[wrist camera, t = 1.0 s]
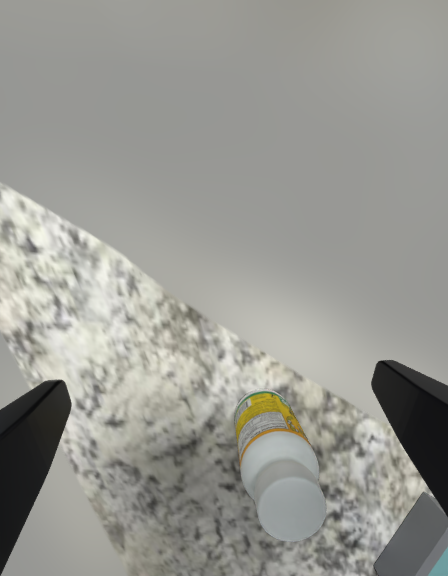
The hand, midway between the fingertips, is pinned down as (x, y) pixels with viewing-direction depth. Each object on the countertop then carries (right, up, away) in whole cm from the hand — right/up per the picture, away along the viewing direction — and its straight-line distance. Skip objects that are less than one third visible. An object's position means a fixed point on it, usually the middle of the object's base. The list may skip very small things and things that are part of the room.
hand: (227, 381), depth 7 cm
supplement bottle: (+4, -9, +17) cm, 20 cm away
